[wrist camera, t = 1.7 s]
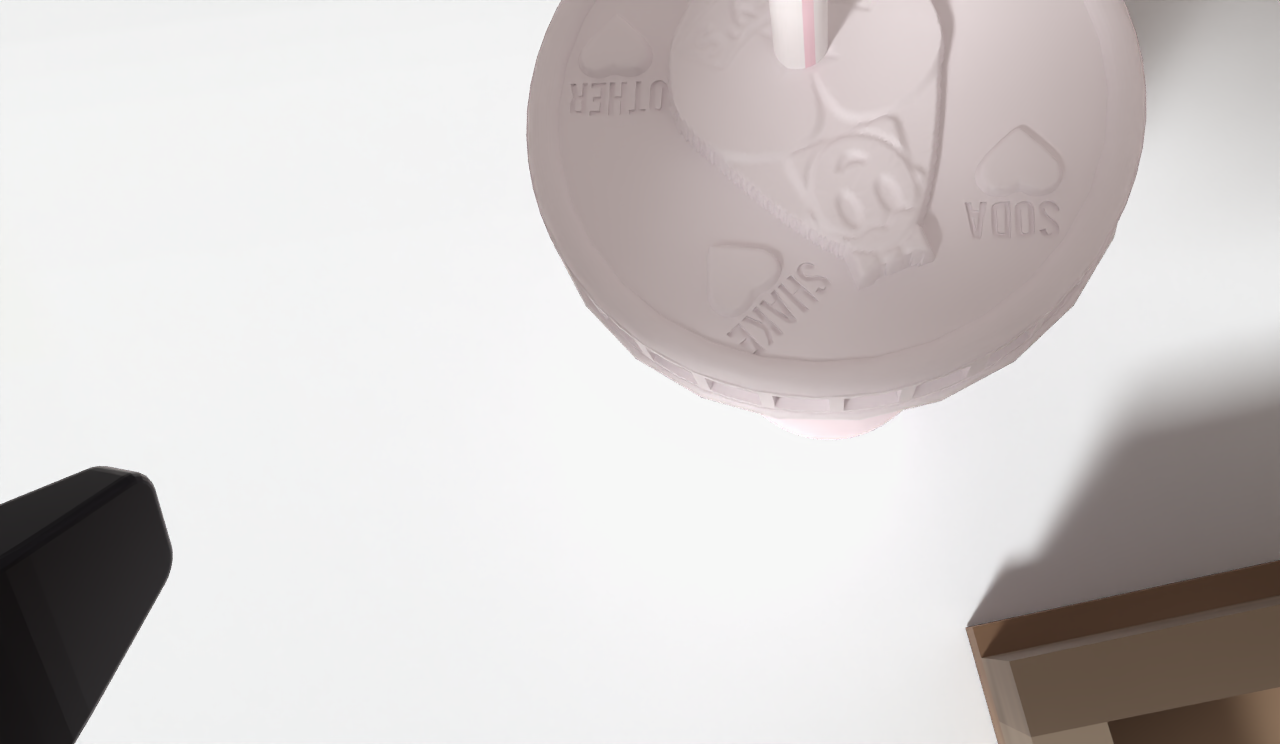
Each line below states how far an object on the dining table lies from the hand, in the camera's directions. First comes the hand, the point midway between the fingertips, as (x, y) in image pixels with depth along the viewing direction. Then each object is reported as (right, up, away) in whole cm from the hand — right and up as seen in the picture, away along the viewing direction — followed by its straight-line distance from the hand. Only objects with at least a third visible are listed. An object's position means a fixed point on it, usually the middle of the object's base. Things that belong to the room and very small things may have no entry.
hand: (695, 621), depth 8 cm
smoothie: (+3, +2, +13) cm, 13 cm away
